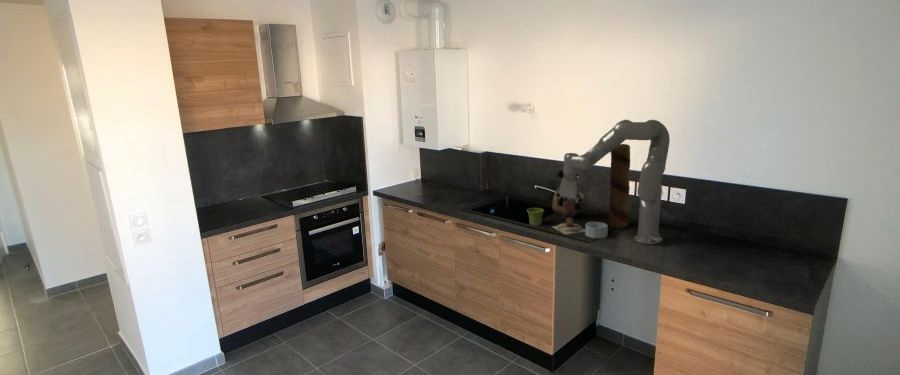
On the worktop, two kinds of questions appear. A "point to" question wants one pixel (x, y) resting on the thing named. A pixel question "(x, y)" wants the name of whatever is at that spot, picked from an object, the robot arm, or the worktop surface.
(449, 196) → the worktop surface
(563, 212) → the ceramic jug
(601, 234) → the bowl
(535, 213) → the plant pot
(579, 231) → the mat
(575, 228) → the lid
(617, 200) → the wafer roll
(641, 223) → the robot arm
